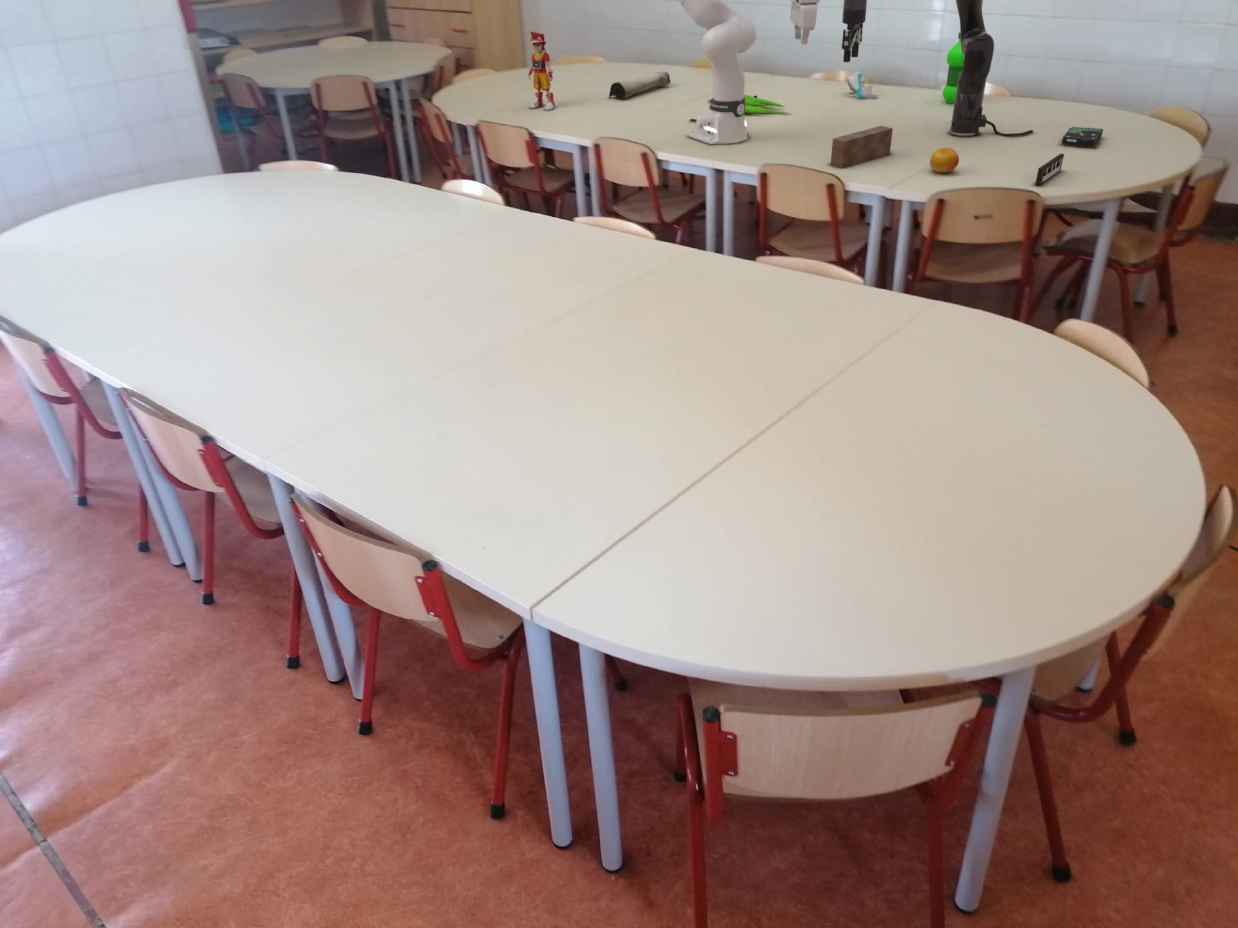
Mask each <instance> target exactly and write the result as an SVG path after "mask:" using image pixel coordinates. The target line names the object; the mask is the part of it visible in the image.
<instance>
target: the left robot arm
mask: <svg viewBox="0 0 1238 928" xmlns="http://www.w3.org/2000/svg"><path fill="white" fill-rule="evenodd" d="M789 1H790V2H791V5H790V22H791V23H793V28H794V39H795V40H800V44H801V45H802V46H803V45H804V46H805V45H808V42H809V37H810V31H814V30H815V28H816V23H817V14H818V4H819V3H820V0H789ZM678 2H679V4H680V5H681V6H682V8H683V9H684V10H685V12H686V13H687V14H688V16H689V17H690V18H691V19H692V21H693V22H694V23H695V25H697V26H699V27H701V28H703V29H705V30H706V31H707V32H705V34H704V35H703V37H702V41H701V49H702V52H703V54H704V55H705V57H706V58H707V59H708V60H709V64H710V68H711V72H712V88H713V89H712V93H713V94H712V96H713V97H711V99H707V104H709V107H708V109H707V110H706V111H705V112H703V113H702V114H701V115H700V116H698V118H697V119H696V118H690V119H689V121H690V122H695V126H694V130H692V131H690V132H689V133H688V137H689V138H692V139H695V140H698V141H700V142H704V143H707V144H709V145H718V144H721V145H722V144H723V145H725V144H726V145H727V144H736V143H742V142H744V141H746V140H748V139H749V138H748V137H749V136H748V133H747V121H746V117H745V113H744V111H745V97H744V95H745V85H746V83H745V82H746V79H745V78H746V76H745V73H744V71H743V70H742V69H741V65H740V62H739V55H740V54H742V53H745V52H746V51H748V50H749V49H750V48H751V47H752V46H753V45H754V43H755V42H756V39H757V29H756V26H755V24H754V23H753V22H752V21H751V20H749V19H746V18H745V17H743V16H741V15H740V14H738V13H737V12H736V11H734V9H733V8H731V7H730V6H729V5H728V4H726V3H725V2H724V0H678Z"/></svg>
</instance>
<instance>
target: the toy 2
mask: <svg viewBox="0 0 1238 928" xmlns="http://www.w3.org/2000/svg"><path fill="white" fill-rule="evenodd" d="M744 97H745V111H744V114H786V112H784V111H780V110H775V109H770V108H765V107H767V106H768V107H778V108H779V107H780V108H786V106H785V105H782V104H780V103H778V102H775V101H772V100H768V99H764V98H759V97H758V95H753V96H751V95H749V94H744Z"/></svg>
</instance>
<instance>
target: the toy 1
mask: <svg viewBox="0 0 1238 928" xmlns="http://www.w3.org/2000/svg"><path fill="white" fill-rule="evenodd" d="M529 33H530V35H531V36H528V37H527V38H528V39H529V40H528V41H527V43H529V44H530V43H531V44H532V48H533V50H534V51H533V52H532V55H531V58H530V59H531V63H530V66H528V74H527V75H528V76H527V77H528V79H529V80H531V75H532V74H533V84H532V85H533V86H532V87H533V88H534V89H535V90H536V92H534V95H535V97H536V100H535V101H533V102H531V105H530V108H531V109H535V108H538V107H542V106H544V101H543V100H544V99H543V95H544V92H546V94H545V97H546V99H547V103H546V104H545V106H544V110H546V111H549V110H553V109H554V107H555V106H556V105H555V99H554V92H551V91H550V90H551V86H552V84H551V82H552V81H553V80H554V77H553V73H554V71H555V70H554V69H552V68H551V63H550V61H551V59H550V58H551V57H550V54H549V53H548V52H547V50H546V48H545V46H546V44H547V41H545V35H544V33H543V32H542V33H539V32H535V31H529Z"/></svg>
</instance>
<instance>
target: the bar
mask: <svg viewBox="0 0 1238 928" xmlns="http://www.w3.org/2000/svg"><path fill="white" fill-rule="evenodd" d="M893 130H894V128H892V127H889V126H885V125H878V126H874V127H871V128H867V129H862V130H859V131H856V132H852V133H848V134H845V135H841V136H836V137H833V138H832V145H831V156H830V165H832V166H834V167H838V168H841V169H842V168H843V169H844V168H847V167H850V166H854V165H857V164H860V163H864V162H867V161H870V160H871V161H872V160H875V159H878V158H882V157H885V156H888V155H890V154H891V147H892V139H893Z"/></svg>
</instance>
